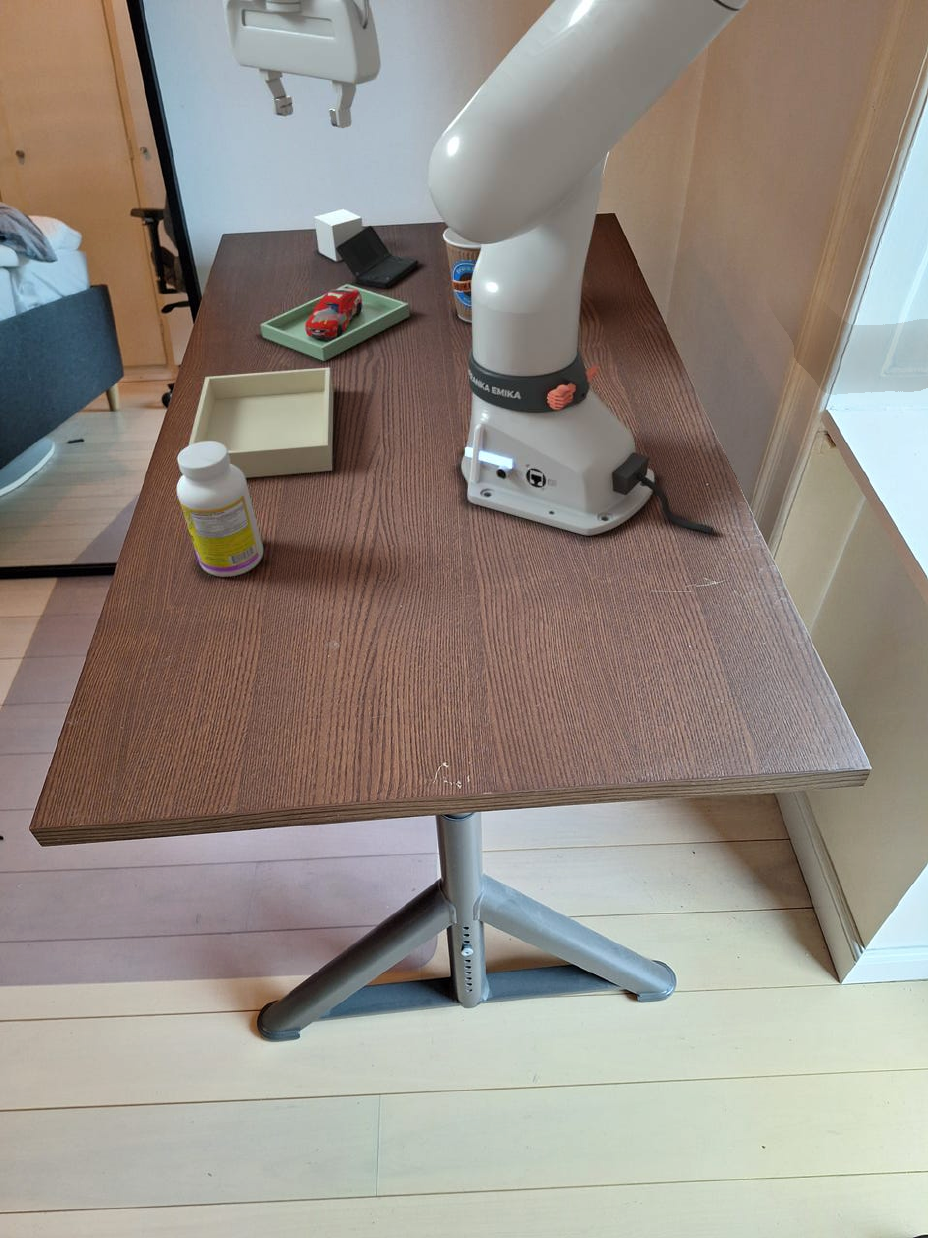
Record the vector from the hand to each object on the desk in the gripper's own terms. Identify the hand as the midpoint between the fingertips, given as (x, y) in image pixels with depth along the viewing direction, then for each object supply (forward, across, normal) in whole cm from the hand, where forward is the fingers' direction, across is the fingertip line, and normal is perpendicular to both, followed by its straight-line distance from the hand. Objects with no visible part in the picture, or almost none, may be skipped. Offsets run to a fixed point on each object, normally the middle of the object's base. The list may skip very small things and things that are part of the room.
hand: (312, 120), depth 96 cm
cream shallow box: (+31, -3, +17) cm, 36 cm away
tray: (+31, +12, -10) cm, 35 cm away
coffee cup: (+31, -3, -26) cm, 41 cm away
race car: (+31, +12, -10) cm, 34 cm away
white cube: (+31, +33, -32) cm, 56 cm away
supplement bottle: (+31, -19, +36) cm, 51 cm away
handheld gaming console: (+31, +21, -29) cm, 48 cm away
